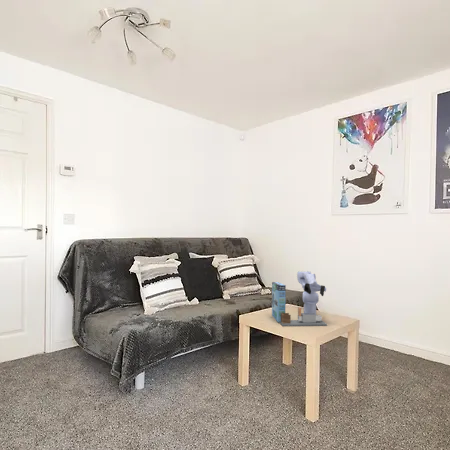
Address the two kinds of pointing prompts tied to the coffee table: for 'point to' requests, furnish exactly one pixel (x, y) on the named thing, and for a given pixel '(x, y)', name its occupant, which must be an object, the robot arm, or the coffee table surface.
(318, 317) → the blocks
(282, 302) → the gum box
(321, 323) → the base board
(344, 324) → the coffee table surface
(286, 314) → the socket
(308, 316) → the sleeve
